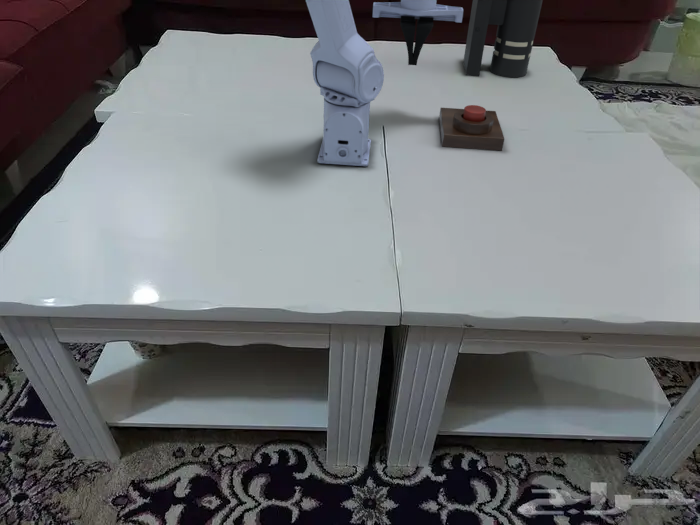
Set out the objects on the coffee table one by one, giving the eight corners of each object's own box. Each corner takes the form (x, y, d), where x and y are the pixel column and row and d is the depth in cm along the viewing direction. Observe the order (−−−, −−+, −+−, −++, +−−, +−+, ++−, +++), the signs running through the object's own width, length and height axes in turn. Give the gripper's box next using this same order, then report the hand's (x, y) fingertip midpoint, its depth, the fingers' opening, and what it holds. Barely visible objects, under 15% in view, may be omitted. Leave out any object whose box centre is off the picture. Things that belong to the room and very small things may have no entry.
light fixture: (529, 80, 125) (549, -9, 114) (466, 75, 126) (480, -13, 115) (522, 65, 133) (541, -19, 122) (463, 61, 134) (476, -23, 123)
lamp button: (485, 123, 96) (487, 113, 94) (463, 122, 96) (465, 112, 95) (482, 115, 98) (484, 105, 97) (461, 114, 99) (463, 104, 98)
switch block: (502, 150, 96) (506, 128, 93) (442, 146, 96) (445, 124, 94) (493, 122, 105) (497, 101, 103) (438, 118, 106) (441, 97, 103)
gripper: (465, -26, 93) (453, 58, 101) (376, -31, 94) (371, 53, 102) (469, -18, 87) (455, 71, 96) (374, -23, 88) (369, 66, 96)
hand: (412, 63), depth 98 cm, fingers closed
